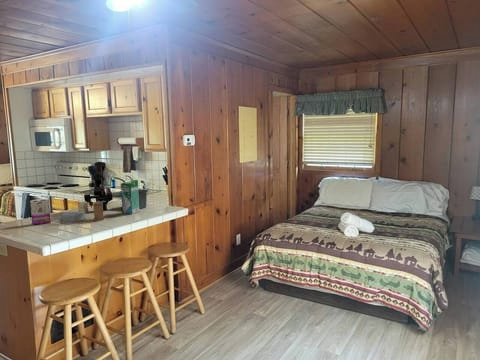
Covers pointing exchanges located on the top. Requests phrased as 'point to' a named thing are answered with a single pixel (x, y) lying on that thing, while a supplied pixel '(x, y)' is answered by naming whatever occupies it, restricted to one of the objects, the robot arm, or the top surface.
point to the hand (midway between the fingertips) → (98, 206)
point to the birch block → (83, 207)
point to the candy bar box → (40, 211)
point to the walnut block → (98, 211)
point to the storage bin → (142, 198)
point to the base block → (73, 216)
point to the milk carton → (130, 197)
